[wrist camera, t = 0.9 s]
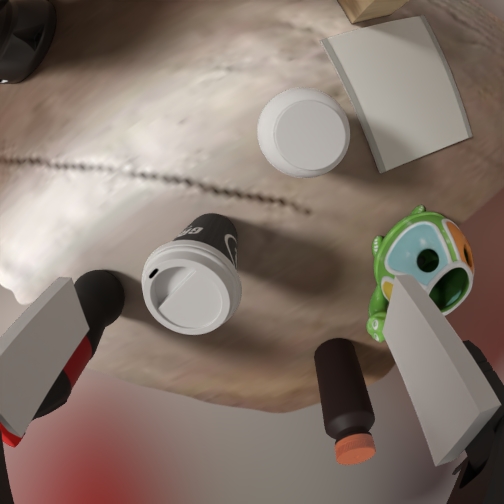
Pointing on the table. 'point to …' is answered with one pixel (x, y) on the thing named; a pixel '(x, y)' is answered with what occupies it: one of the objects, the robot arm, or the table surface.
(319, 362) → the vinegar
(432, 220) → the turtle holder
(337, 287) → the table surface
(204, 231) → the coffee cup
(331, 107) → the pill bottle
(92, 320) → the cola bottle
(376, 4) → the oak block
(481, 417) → the robot arm
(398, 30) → the shallow grey tray
